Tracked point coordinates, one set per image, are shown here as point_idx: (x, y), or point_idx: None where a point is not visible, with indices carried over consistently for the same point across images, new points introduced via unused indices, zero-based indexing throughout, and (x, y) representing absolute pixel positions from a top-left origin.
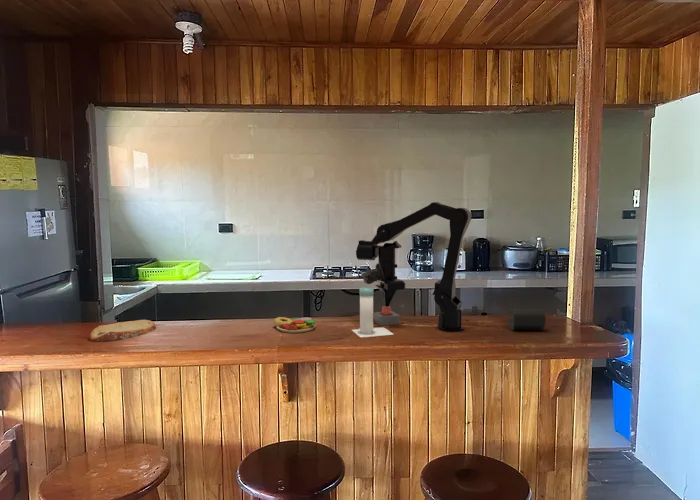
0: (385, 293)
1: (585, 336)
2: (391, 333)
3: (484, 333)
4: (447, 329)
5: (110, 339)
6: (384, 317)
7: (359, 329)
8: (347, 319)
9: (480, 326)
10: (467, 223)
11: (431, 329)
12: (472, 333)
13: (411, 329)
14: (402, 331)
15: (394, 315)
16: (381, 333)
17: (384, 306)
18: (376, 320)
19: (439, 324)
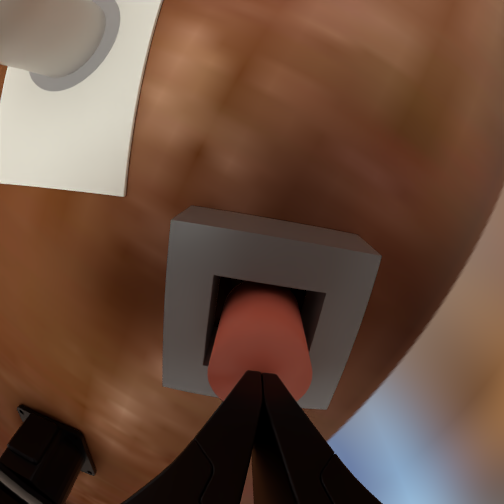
0: (138, 499)
1: None
2: (3, 176)
3: None
4: (23, 414)
5: None
6: (169, 258)
7: (150, 12)
8: (473, 95)
9: (82, 492)
10: None
11: (50, 393)
12: (12, 433)
13: (56, 328)
14: (31, 262)
15: (175, 357)
16: (18, 119)
17: (284, 367)
18: (285, 224)
19: (43, 427)
